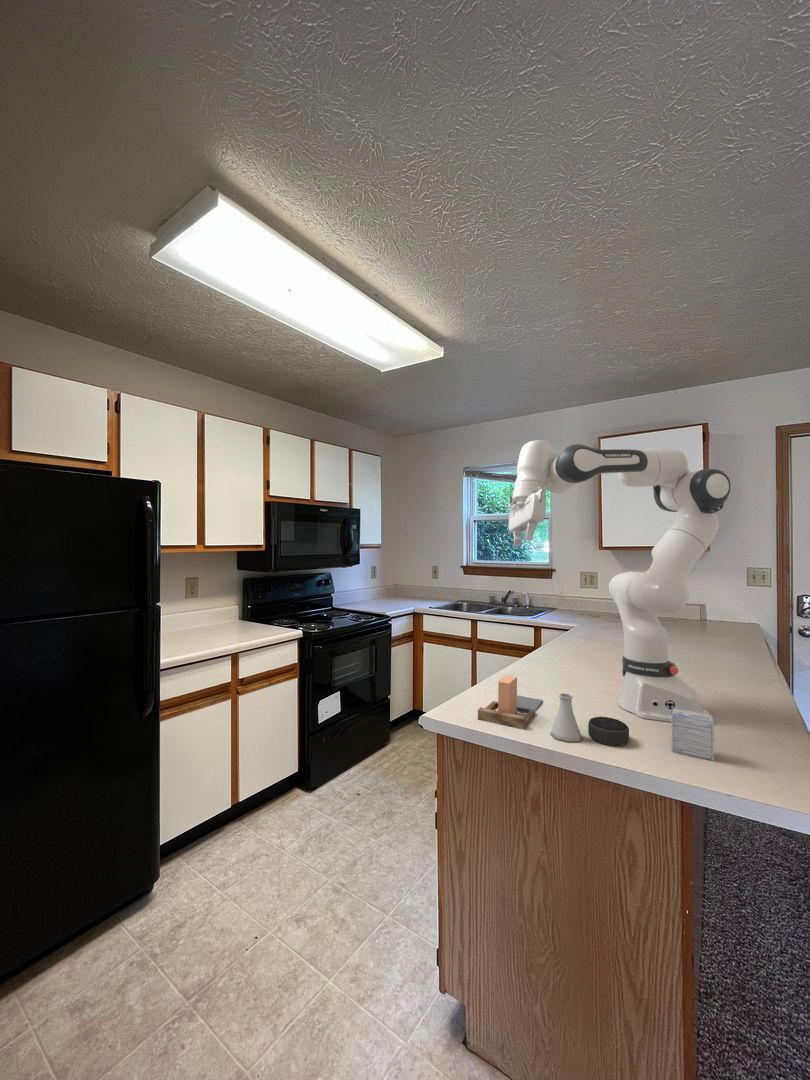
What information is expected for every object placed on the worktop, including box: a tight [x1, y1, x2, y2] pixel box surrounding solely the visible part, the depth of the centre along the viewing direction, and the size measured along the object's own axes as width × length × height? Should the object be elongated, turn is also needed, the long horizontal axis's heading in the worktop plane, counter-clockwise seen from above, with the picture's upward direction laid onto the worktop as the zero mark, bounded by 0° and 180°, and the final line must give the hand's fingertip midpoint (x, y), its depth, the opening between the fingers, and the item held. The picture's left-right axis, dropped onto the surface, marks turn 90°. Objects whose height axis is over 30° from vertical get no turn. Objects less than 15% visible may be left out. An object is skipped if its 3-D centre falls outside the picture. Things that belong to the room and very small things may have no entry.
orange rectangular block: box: [497, 674, 518, 715], centre depth 118 cm, size 3×7×10 cm, turn 149°
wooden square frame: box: [477, 700, 537, 730], centre depth 118 cm, size 12×12×2 cm
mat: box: [517, 694, 544, 711], centre depth 129 cm, size 11×9×1 cm
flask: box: [550, 692, 583, 743], centre depth 106 cm, size 7×7×10 cm
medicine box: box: [671, 709, 715, 761], centre depth 98 cm, size 8×4×9 cm, turn 58°
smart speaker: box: [587, 716, 630, 747], centre depth 105 cm, size 9×9×4 cm
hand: (522, 542), depth 120 cm, fingers open, 8 cm apart
